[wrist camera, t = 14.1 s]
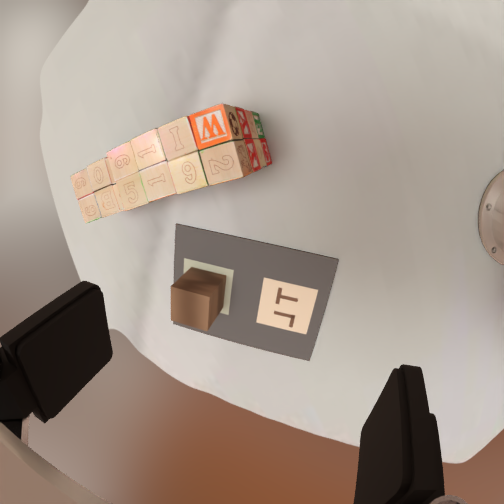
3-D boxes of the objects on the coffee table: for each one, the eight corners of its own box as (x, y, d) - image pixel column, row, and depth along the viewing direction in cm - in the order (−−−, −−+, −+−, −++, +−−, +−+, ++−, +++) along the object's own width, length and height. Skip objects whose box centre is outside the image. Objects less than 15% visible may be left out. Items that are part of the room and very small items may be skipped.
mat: (338, 259, 37) (338, 260, 37) (309, 360, 44) (309, 361, 43) (176, 223, 41) (175, 224, 41) (173, 323, 48) (173, 323, 47)
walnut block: (226, 275, 42) (209, 297, 36) (223, 307, 44) (207, 331, 38) (191, 266, 43) (170, 286, 37) (190, 298, 45) (170, 320, 39)
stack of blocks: (127, 205, 42) (67, 232, 31) (114, 163, 41) (50, 179, 30) (273, 163, 36) (243, 178, 24) (259, 111, 34) (222, 102, 23)
